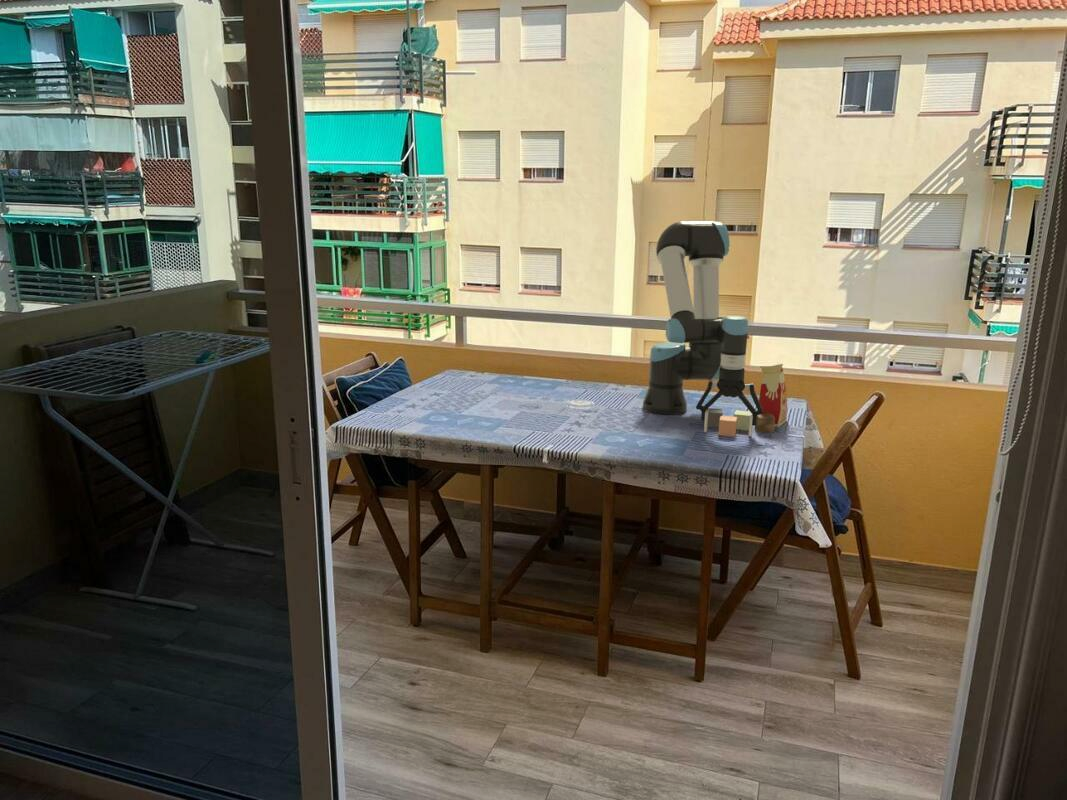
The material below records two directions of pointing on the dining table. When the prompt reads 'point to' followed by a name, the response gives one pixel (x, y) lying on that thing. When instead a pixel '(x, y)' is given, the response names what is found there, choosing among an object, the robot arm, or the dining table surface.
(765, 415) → the walnut block
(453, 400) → the dining table surface
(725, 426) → the terracotta block
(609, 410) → the dining table surface
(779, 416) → the milk carton
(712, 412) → the grey beige cube
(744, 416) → the sage block
